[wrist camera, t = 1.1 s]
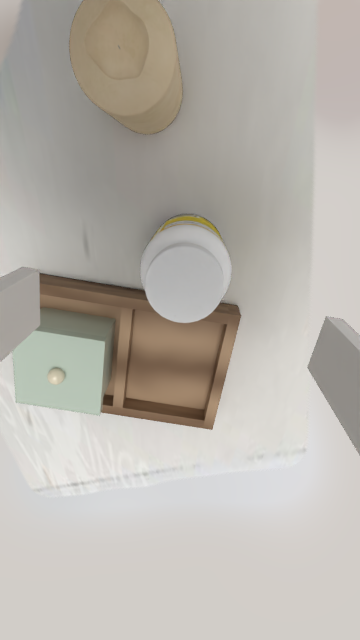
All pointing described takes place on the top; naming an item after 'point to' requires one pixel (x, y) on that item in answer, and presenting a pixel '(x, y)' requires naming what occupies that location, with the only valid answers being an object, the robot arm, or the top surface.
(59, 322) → the trinket box
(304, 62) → the top surface
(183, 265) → the pill bottle
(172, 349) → the organizer tray
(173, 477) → the top surface
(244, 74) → the top surface
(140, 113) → the candle
